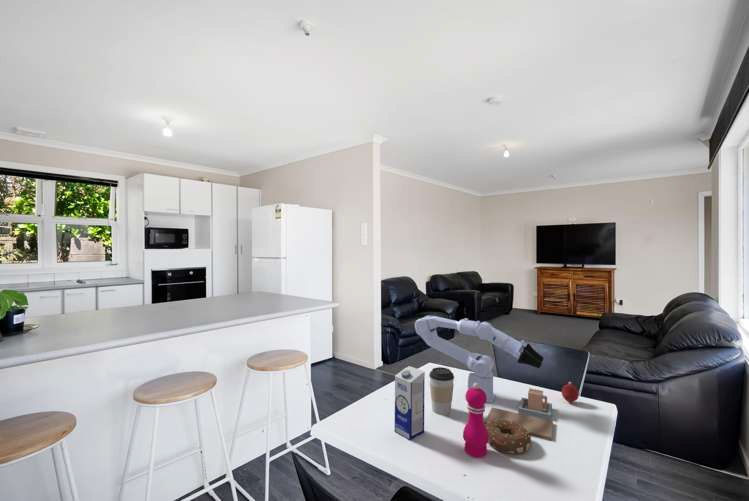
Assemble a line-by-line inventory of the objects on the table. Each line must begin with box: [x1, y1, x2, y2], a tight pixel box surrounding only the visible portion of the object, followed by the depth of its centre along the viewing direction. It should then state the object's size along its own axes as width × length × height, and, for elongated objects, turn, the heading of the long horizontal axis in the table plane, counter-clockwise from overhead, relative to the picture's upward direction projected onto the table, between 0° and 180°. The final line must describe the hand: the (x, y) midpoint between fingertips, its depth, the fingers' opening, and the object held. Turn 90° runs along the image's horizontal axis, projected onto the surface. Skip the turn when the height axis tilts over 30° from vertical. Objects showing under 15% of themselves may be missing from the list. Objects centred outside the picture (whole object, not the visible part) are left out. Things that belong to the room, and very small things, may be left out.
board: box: [484, 406, 554, 442], centre depth 118 cm, size 20×12×1 cm, turn 61°
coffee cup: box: [428, 366, 455, 416], centre depth 127 cm, size 9×9×15 cm
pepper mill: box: [462, 383, 489, 459], centre depth 101 cm, size 7×7×20 cm
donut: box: [485, 419, 532, 454], centre depth 106 cm, size 14×14×5 cm
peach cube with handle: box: [527, 388, 548, 412], centre depth 127 cm, size 6×5×7 cm
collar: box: [517, 397, 553, 421], centre depth 127 cm, size 10×10×2 cm
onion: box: [561, 381, 580, 404], centre depth 134 cm, size 6×6×8 cm
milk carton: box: [394, 365, 426, 441], centre depth 112 cm, size 7×7×20 cm
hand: (541, 363), depth 128 cm, fingers open, 7 cm apart
